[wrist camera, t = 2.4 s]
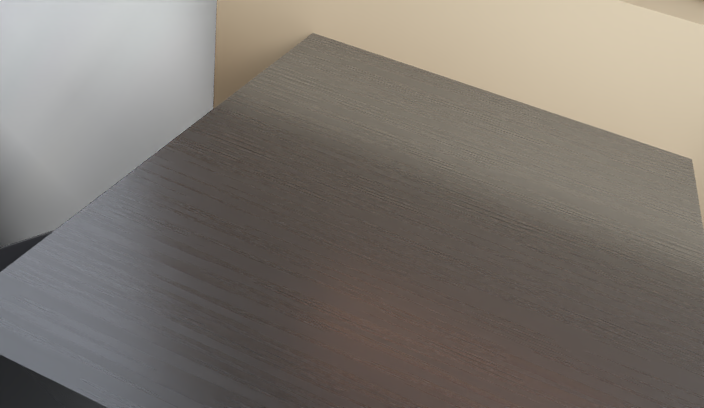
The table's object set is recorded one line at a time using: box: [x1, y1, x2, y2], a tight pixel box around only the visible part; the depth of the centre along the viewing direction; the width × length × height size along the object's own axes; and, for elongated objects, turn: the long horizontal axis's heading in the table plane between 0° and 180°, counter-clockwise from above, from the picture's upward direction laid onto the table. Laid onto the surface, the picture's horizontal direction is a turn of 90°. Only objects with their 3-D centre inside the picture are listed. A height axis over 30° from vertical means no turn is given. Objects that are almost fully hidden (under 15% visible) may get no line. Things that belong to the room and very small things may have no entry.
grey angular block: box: [0, 33, 704, 408], centre depth 6 cm, size 4×4×5 cm
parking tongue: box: [213, 0, 704, 229], centre depth 9 cm, size 7×7×2 cm
